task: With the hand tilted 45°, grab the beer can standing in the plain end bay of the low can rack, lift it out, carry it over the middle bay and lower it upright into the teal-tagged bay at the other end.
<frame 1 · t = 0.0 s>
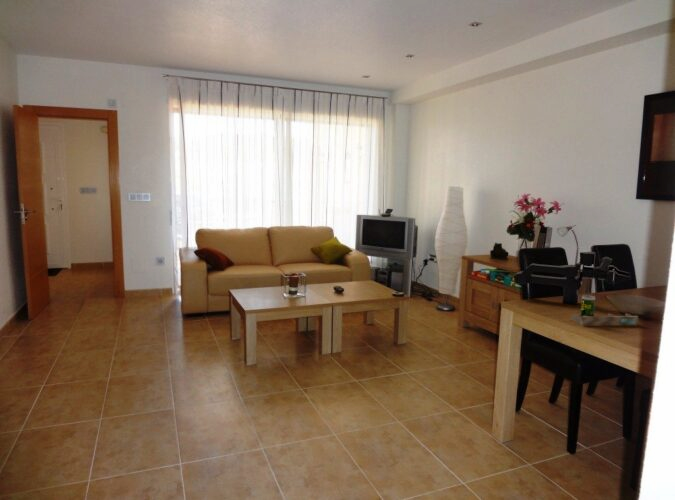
hand: (630, 276, 221), 17 cm above the table, tool horizontal, fingers open, 9 cm apart
can rack: (603, 322, 205), on the table
beer can: (586, 322, 205), resting in can rack
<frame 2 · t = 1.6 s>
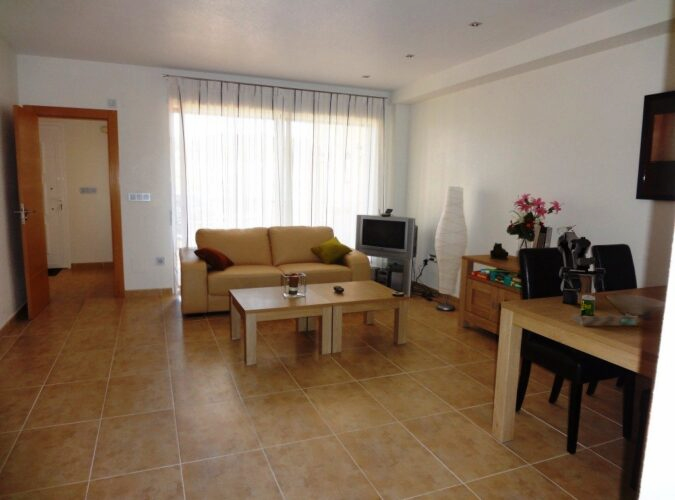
hand: (584, 288, 210), 14 cm above the table, tool tilted 45°, fingers open, 9 cm apart
nothing on the table moved.
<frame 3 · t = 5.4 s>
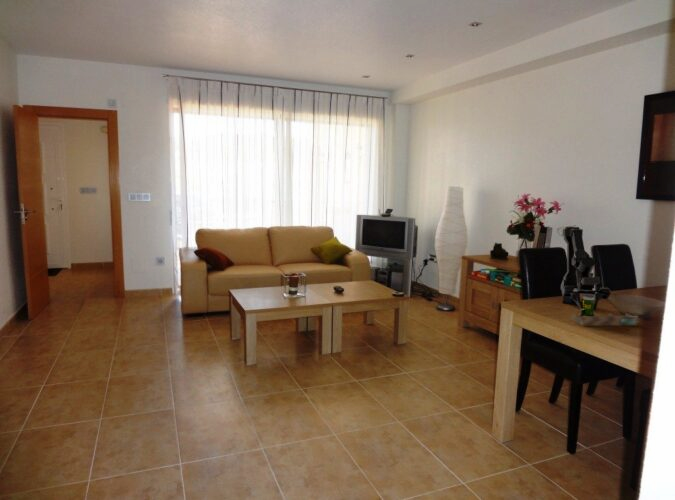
hand: (588, 309, 202), 7 cm above the table, tool tilted 45°, fingers closed on beer can, 5 cm apart
beer can: (586, 322, 205), resting in can rack, touching gripper
when the fingers open (8 cm above the table, at t = 9.8 s): beer can drops 1 cm, resting in can rack.
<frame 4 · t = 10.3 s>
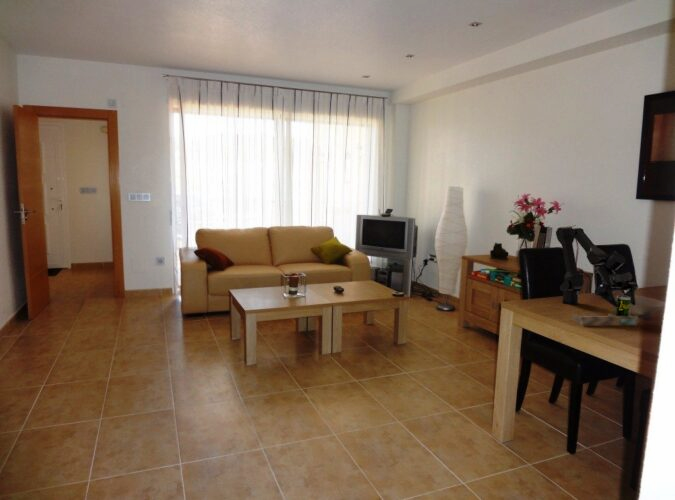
hand: (625, 305, 202), 8 cm above the table, tool tilted 45°, fingers open, 9 cm apart
beer can: (621, 322, 205), resting in can rack
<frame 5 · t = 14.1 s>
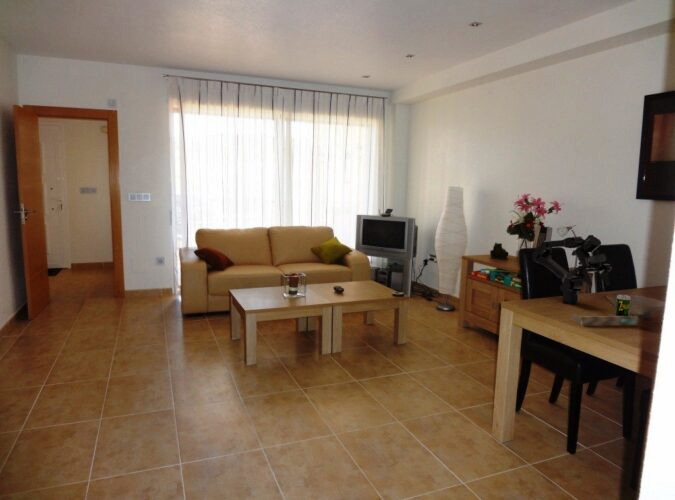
hand: (600, 285, 216), 14 cm above the table, tool tilted 45°, fingers open, 9 cm apart
nothing on the table moved.
at the end: beer can 0.1 cm from the target spot, resting in can rack; beer can tilted 0°; the gripper is holding nothing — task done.
